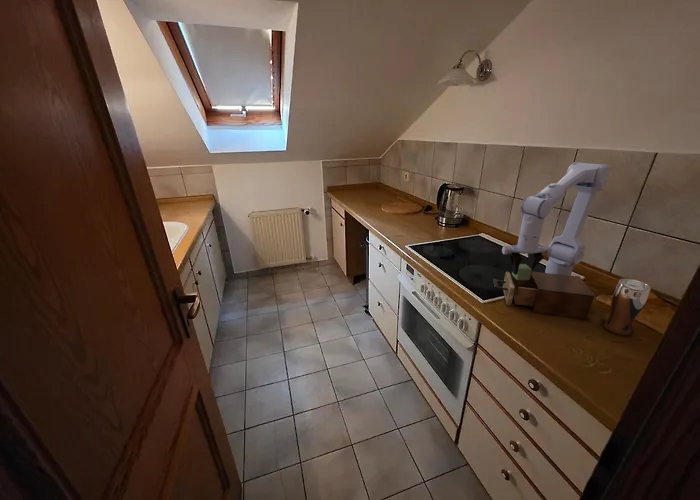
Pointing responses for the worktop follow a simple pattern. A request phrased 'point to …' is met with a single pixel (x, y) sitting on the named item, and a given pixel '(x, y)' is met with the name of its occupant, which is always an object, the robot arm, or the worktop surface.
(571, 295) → the cabinet
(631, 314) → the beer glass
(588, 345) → the worktop surface
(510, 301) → the drawer
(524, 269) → the block
